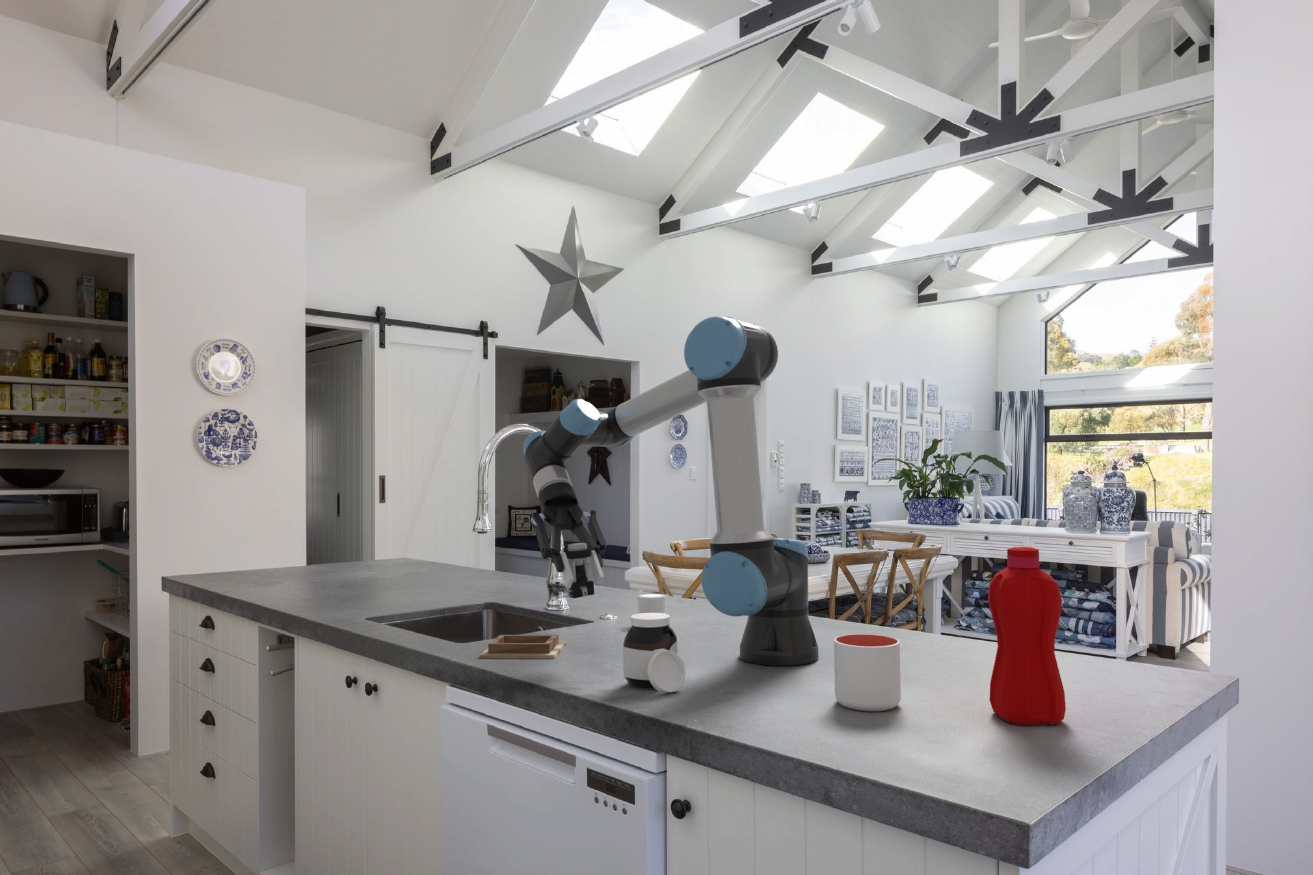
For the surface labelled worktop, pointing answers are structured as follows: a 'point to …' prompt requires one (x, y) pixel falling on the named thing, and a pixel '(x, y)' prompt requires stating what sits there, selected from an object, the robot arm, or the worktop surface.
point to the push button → (579, 570)
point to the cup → (867, 672)
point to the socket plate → (524, 646)
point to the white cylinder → (651, 603)
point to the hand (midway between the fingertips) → (585, 582)
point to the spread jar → (652, 654)
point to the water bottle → (1026, 642)
